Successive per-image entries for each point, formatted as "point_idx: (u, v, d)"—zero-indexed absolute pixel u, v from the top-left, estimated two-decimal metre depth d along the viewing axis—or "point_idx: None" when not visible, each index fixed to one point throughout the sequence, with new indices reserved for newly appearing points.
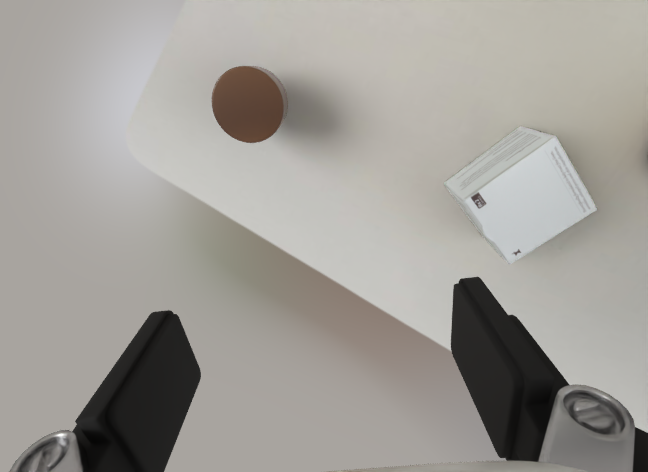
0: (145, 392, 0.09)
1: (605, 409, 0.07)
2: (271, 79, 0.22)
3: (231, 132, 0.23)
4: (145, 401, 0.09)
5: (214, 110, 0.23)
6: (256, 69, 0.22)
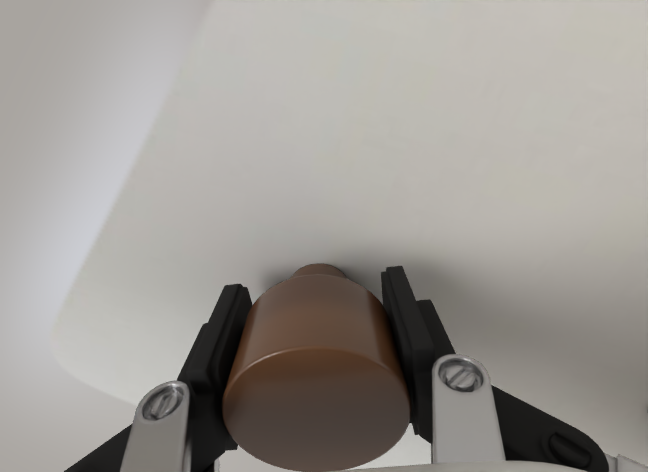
0: (233, 353, 0.10)
1: (467, 369, 0.08)
2: (388, 369, 0.08)
3: (270, 459, 0.09)
4: (233, 361, 0.10)
5: (228, 424, 0.09)
6: (350, 352, 0.08)
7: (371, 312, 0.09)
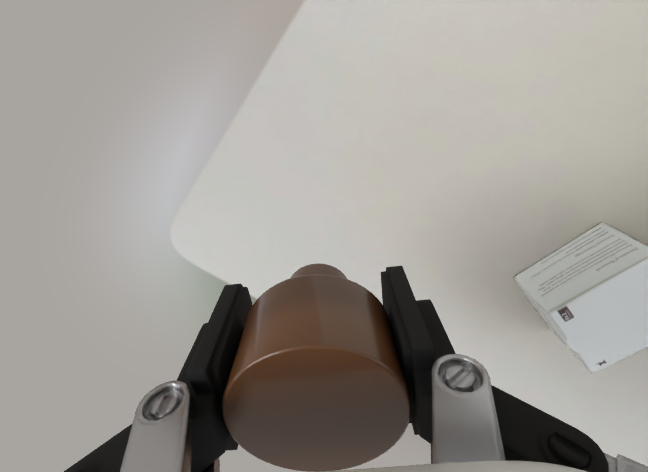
0: (233, 353, 0.10)
1: (467, 369, 0.08)
2: (388, 369, 0.08)
3: (270, 458, 0.09)
4: (233, 361, 0.10)
5: (228, 424, 0.09)
6: (349, 351, 0.08)
7: (371, 312, 0.09)
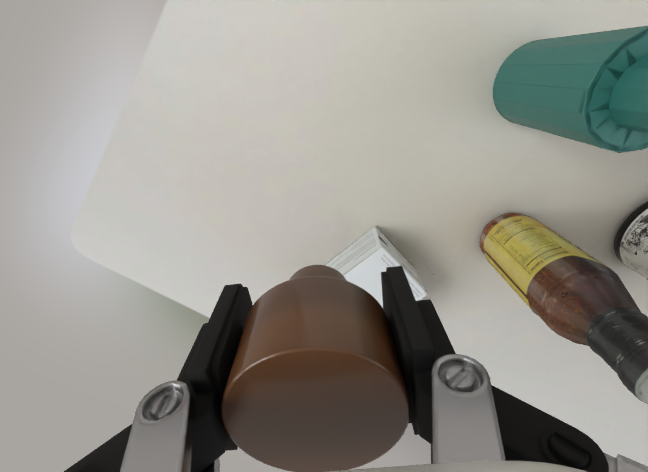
0: (233, 353, 0.10)
1: (467, 369, 0.08)
2: (387, 371, 0.08)
3: (269, 460, 0.09)
4: None
5: (227, 426, 0.09)
6: (348, 353, 0.08)
7: (370, 313, 0.09)
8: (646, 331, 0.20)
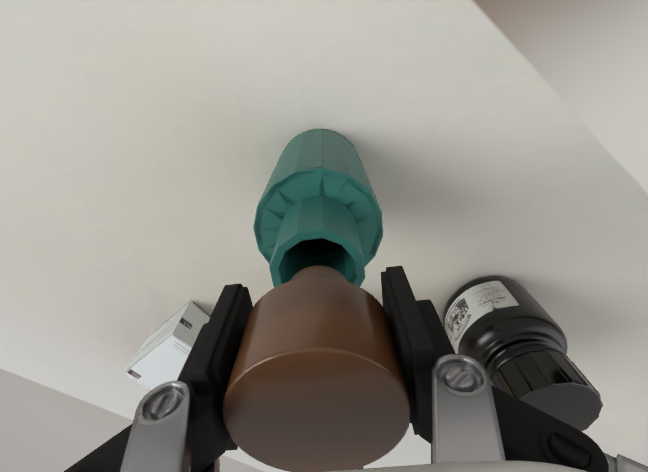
0: (233, 353, 0.10)
1: (467, 369, 0.08)
2: (388, 372, 0.08)
3: (270, 461, 0.09)
4: (233, 361, 0.10)
5: (229, 426, 0.09)
6: (350, 354, 0.08)
7: (371, 314, 0.09)
8: None
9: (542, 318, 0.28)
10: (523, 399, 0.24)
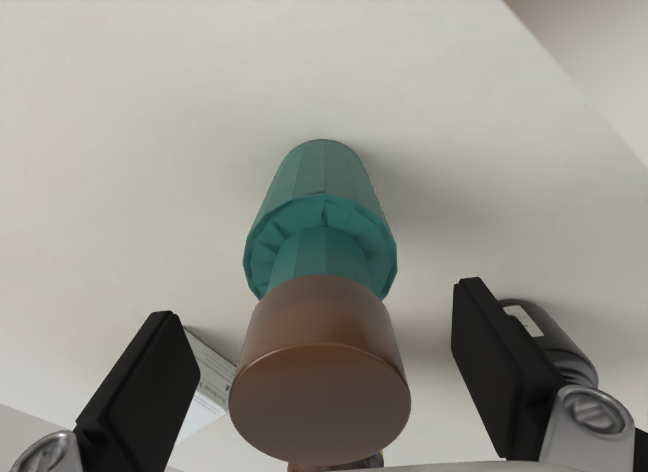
0: (145, 392, 0.09)
1: (605, 409, 0.07)
2: (388, 365, 0.08)
3: (274, 453, 0.10)
4: (145, 401, 0.09)
5: (234, 418, 0.09)
6: (352, 348, 0.08)
7: (372, 311, 0.10)
8: None
9: (571, 351, 0.25)
10: None
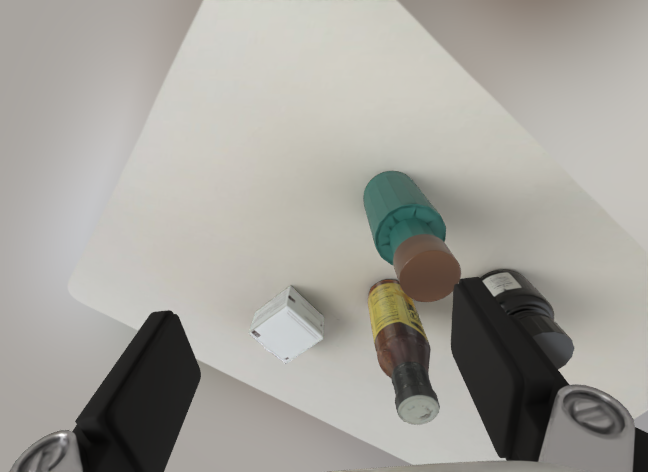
0: (145, 392, 0.09)
1: (605, 409, 0.07)
2: (454, 259, 0.26)
3: (411, 295, 0.27)
4: (145, 401, 0.09)
5: (400, 279, 0.27)
6: (444, 252, 0.26)
7: (445, 245, 0.27)
8: (411, 379, 0.33)
9: (537, 295, 0.43)
10: None
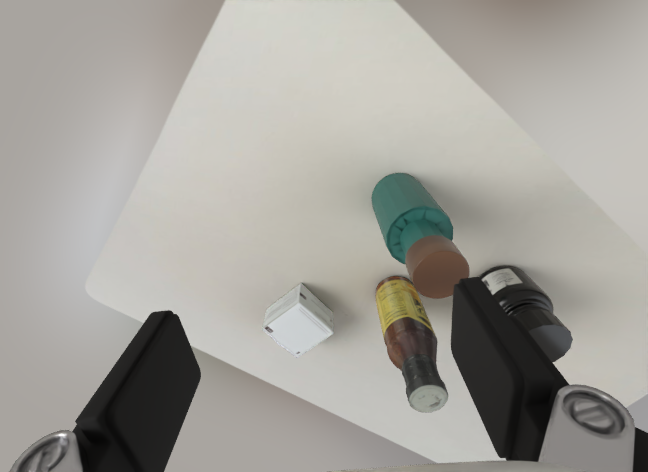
0: (145, 392, 0.09)
1: (605, 409, 0.07)
2: (464, 258, 0.28)
3: (423, 292, 0.29)
4: (145, 401, 0.09)
5: (413, 278, 0.29)
6: (454, 252, 0.28)
7: (455, 246, 0.29)
8: (421, 370, 0.36)
9: (537, 290, 0.45)
10: None
